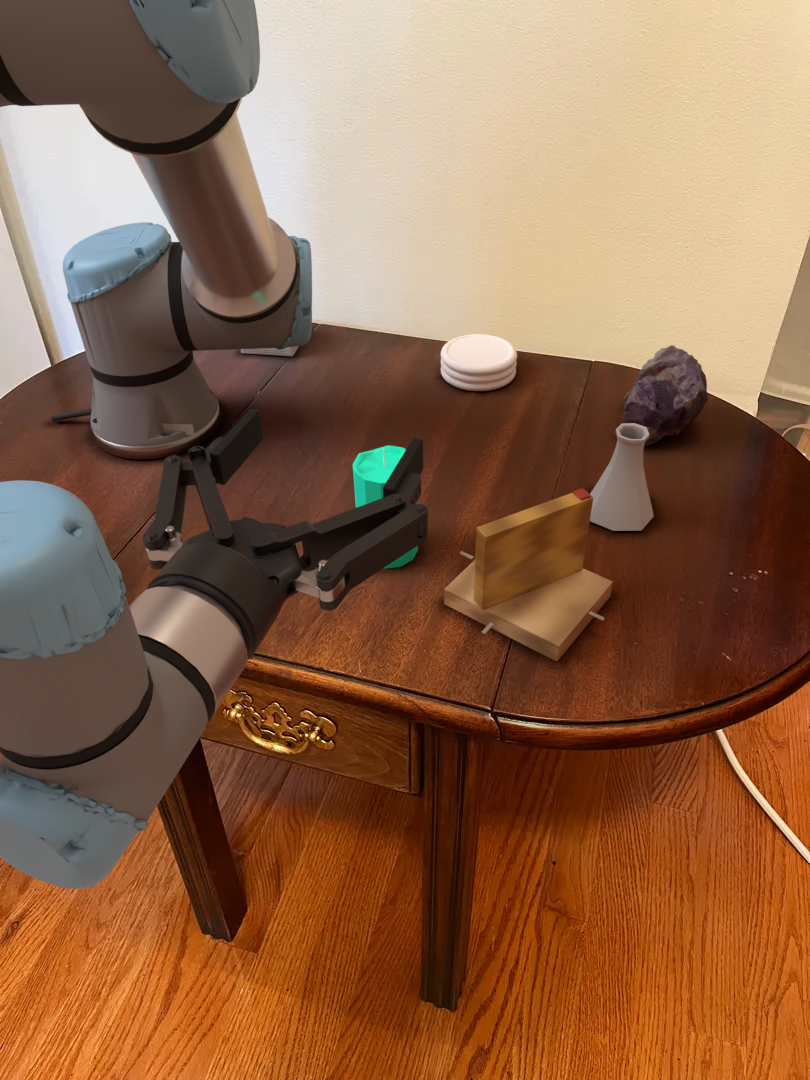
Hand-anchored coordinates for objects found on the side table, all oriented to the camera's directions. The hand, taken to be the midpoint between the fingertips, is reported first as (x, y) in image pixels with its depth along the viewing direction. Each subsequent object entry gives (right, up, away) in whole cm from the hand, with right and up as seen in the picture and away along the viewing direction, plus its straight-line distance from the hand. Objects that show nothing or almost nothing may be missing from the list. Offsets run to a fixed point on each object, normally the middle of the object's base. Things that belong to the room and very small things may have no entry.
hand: (335, 438), depth 65 cm
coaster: (+15, +14, +46) cm, 51 cm away
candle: (+4, -9, +19) cm, 22 cm away
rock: (+36, +6, +35) cm, 51 cm away
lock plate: (+17, -14, +13) cm, 25 cm away
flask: (+28, -5, +23) cm, 36 cm away
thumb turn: (+17, -12, +12) cm, 24 cm away
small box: (-13, +20, +54) cm, 59 cm away
